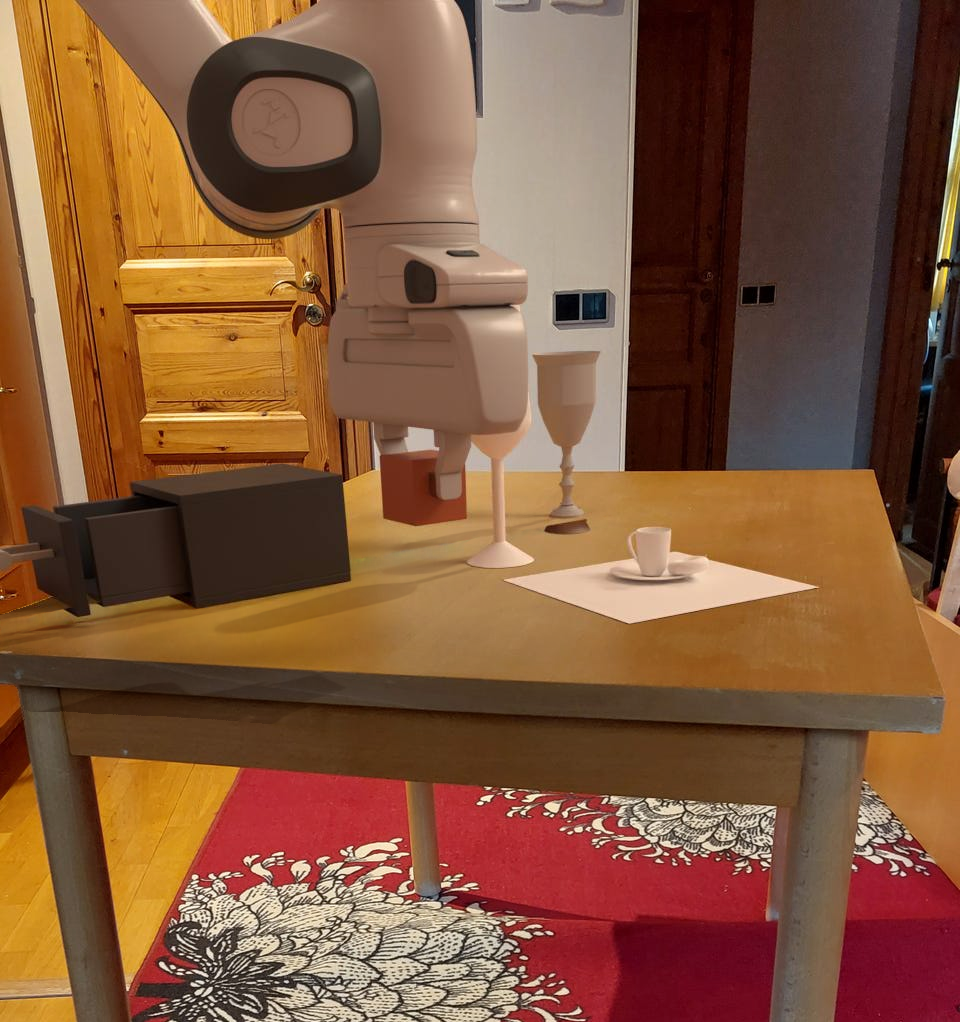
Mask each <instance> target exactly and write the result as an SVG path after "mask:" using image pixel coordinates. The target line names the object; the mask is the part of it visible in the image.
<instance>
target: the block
mask: <svg viewBox="0 0 960 1022" xmlns="http://www.w3.org/2000/svg"><path fill="white" fill-rule="evenodd" d="M438 452H439V450H438V449H437V450H436V449H424V450H414V451H408V452H404V453H395V454H386V455H380V454H379V468H380V469H379V470H380V471H379V472H380V473H379V474H380V487H381V488H380V489H381V501H382V519H384V520H388V521H392V522H396V523H399V524H403V525H408V526H412V527H420V526H421V527H422V526H429V525H434V524H441V523H449V522H456V521H463V520H467V519H468V509H467V507H468V506H467V504H468V503H467V477H466V476H467V475H466V473H467V471H466V464H465V465H464V467H463V470H462V471H461V482H462V493H461V496H460V497H459V498H457V499H450V500H442V499H437V498H433V497H432V496H431V495H430V491H429V487H430V484H429V472H434V471H435V467H436V462H437V457H438Z"/></svg>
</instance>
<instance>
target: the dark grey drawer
mask: <svg viewBox="0 0 960 1022" xmlns="http://www.w3.org/2000/svg"><path fill="white" fill-rule="evenodd" d="M20 510H21V513H22V518H23V522H24V523H23V524H24V528H25V529H24V530H25V533H26V534H25V535H26V539H27V543H24V544H16V545H10V546H3V547H0V571H7V570H10V569H11V568H12V566H13V564H15V563H23V562H30V561H31V562H32V563H31V564H32V567H33V573H34V578H35V582H36V583H35V584H36V588H37V590H39V591H41V592H43V593H44V594H46V595H48V596H50V597H52V598H54V599H56V600H57V601H58V602H61V603H63V604H64V605H66V606H68V607H66V608H63V610H64V611H65V612H67V613H70V614H71V615H72V616H74V617H76V618H83V617H87V616H92V613H91V607H90V601H89V597H90V598H92V599H93V600H95V601H97V602H96V603H95V604H97V605H98V606H100V607H102V608H108V607H114V606H120V605H123V604H130V603H136V602H142V601H147V600H154V599H158V598H159V599H161V598H165V597H170V596H171V595H177V594H183V593H188V592H191V591H190V585H189V578H188V571H187V564H186V557H185V550H184V543H183V537H182V530H181V523H180V516H179V509H178V504H176V503H172V502H169V501H165V500H162V499H158V498H155V497H151V496H148V495H139V496H132V495H131V496H124V497H123V496H122V497H116V498H108V499H101V500H92V501H85V502H77V503H76V502H75V503H68V504H62V505H54V506H52V510H53V511H50V510H48V509H45V508H43V507H41V506H37V505H35V504H31V505H25V506H21V508H20Z"/></svg>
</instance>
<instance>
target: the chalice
mask: <svg viewBox="0 0 960 1022" xmlns="http://www.w3.org/2000/svg"><path fill="white" fill-rule="evenodd" d="M600 355H601V351H600V350H572V351H571V350H570V351H549V352H538V353H532V354H531V356H532V358H533V360H534V362H535V364H536V381H537V382H536V383H537V384H536V385H537V406H538V409H539V412H540V416H541V419H542V422H543V425H544V426H545V428H546V430H547V432H548V435H549V436H550V439H551V441H552V443H553V444H554V445H556V446H558V447H559V448H560V449H561V453H562V458H561V463H560V465H559V469H560V470H561V473H562V477H561V481H560V482H559V484H558V486H559V487H560V488H561V491H562V500H561V502H560V503H559V506H557V507H554V508H553V510H552V511H550V517H551V518H555V519H575V518H581V517H584V514H585V512H584V511H583V509H582V508H581V507H579V506H576V505H575V502H574V501H573V497H572V492H573V488H574V487H575V485H576V483H575V482H574V480H573V477H572V473H573V470H574V468H575V464H574V462H573V458H572V452H573V447H575V446H577V445H579V444H580V443H581V441H582V440H583V437H584V435H585V433H586V430H587V427H588V425H589V424H590V421H591V418H592V414H593V412H594V408H595V406H596V400H597V399H596V397H597V395H596V392H597V391H596V388H597V387H596V386H597V384H596V383H597V381H596V379H597V377H596V376H597V375H596V374H597V373H596V370H597V368H596V367H597V361H598V359H599V357H600ZM587 521H588V520H587V518H583V519H579V520H577V519H576V520H571V521H566V522H561V523H556V524H548V525H546V526H545V528H544V533H548V534H554V535H555V534H556V535H573V534H582V533H586V532H589V531H591V528H590V526H589V524H588V522H587Z"/></svg>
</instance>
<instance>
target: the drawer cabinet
mask: <svg viewBox="0 0 960 1022" xmlns="http://www.w3.org/2000/svg"><path fill="white" fill-rule="evenodd" d="M128 483H129V489H130V495H131V496H139V495H148V496H151V497H155V498H158V499H162V500H165V501H169V502H172V503H176V504H178V509H179V516H180V523H181V530H182V537H183V543H184V550H185V557H186V564H187V571H188V578H189V585H190V591H191V592H188V593H183V594H177V595H171V596H169V597H170V598H171V599H174V600H176V601H178V602H181V603H182V604H185V605H188V606H190V607H191V608H194V609H201V608H207V607H212V606H219V605H224V604H229V603H235V602H241V601H246V600H251V599H256V598H257V599H258V598H263V597H267V596H273V595H278V594H279V595H280V594H283V593H290V592H296V591H301V590H306V589H311V588H312V589H313V588H316V587H322V586H323V587H324V586H327V585H328V586H329V585H333V584H338V583H345V582H350V581H352V574H351V572H352V571H351V560H350V559H351V558H350V549H349V535H348V525H347V524H348V523H347V514H346V503H345V502H346V501H345V490H344V489H345V488H344V479H343V474H340V473H336V472H330V471H325V470H319V469H315V468H309V467H303V466H299V465H292V464H289V463H288V464H286V463H275V464H268V465H259V466H258V465H257V466H251V467H242V468H233V469H225V470H216V471H210V472H209V471H208V472H201V473H192V474H183V475H176V476H175V475H174V476H166V477H159V478H149V479H143V480H141V479H140V480H134V481H133V480H132V481H129V482H128ZM262 596H263V597H262Z"/></svg>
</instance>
